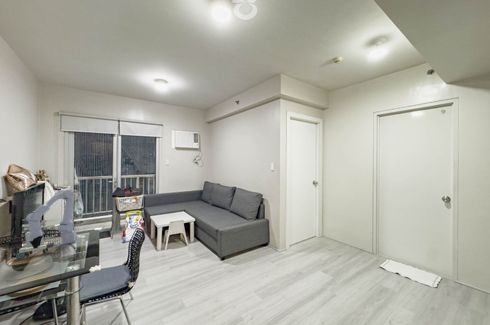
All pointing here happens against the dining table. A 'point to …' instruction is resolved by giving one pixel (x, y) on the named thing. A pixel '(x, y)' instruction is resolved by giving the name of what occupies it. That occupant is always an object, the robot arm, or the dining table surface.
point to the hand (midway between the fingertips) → (36, 247)
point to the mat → (48, 248)
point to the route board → (34, 253)
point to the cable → (36, 248)
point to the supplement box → (29, 242)
